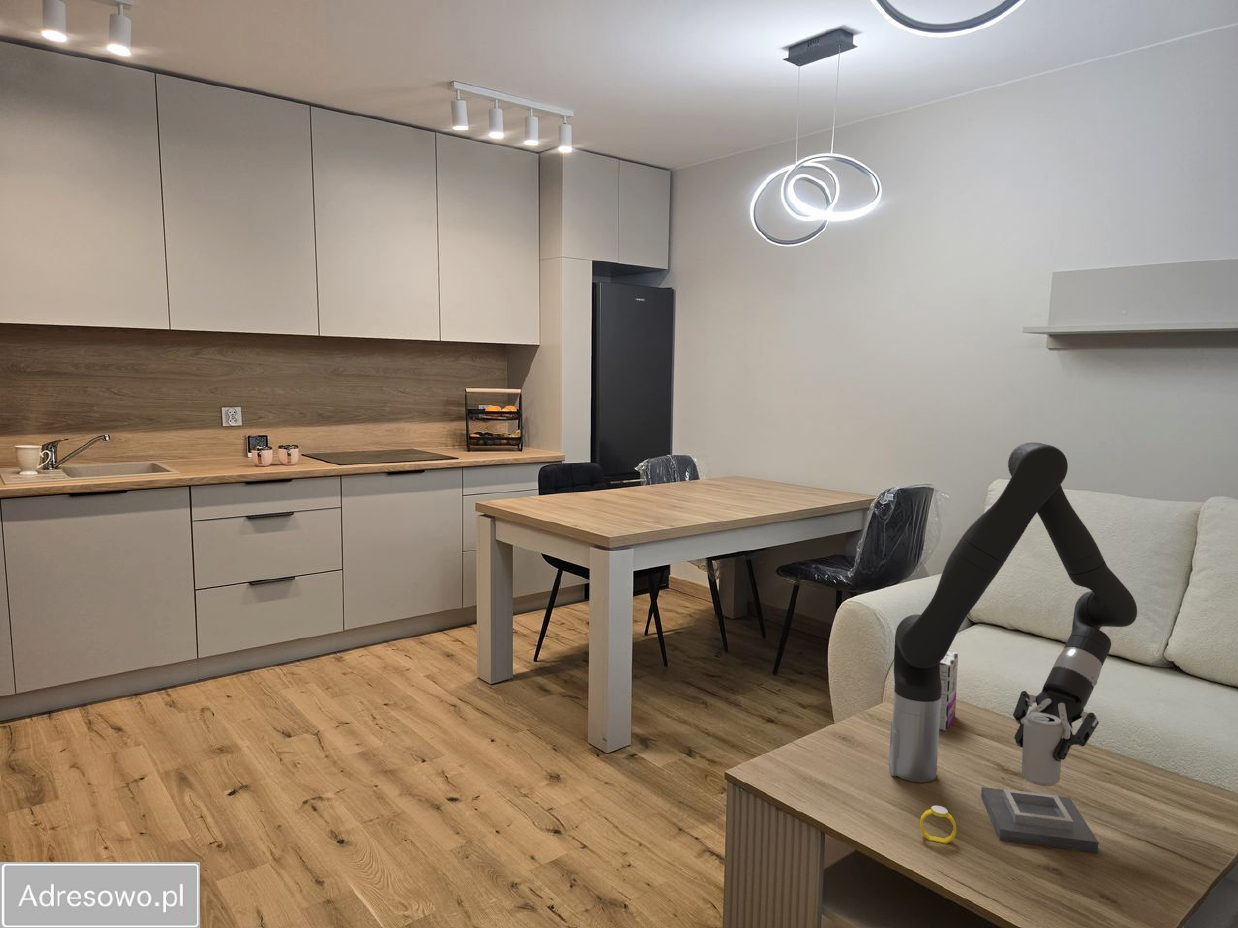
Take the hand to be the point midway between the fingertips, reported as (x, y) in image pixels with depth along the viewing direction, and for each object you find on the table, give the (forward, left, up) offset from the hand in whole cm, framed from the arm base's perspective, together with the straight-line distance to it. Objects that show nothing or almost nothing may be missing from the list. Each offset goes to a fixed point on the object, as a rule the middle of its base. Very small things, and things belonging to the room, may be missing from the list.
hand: (1037, 751), depth 149 cm
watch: (-18, -10, -15) cm, 25 cm away
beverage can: (+1, +1, -6) cm, 6 cm away
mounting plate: (+1, +1, -14) cm, 14 cm away
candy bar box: (-9, +46, -15) cm, 49 cm away
